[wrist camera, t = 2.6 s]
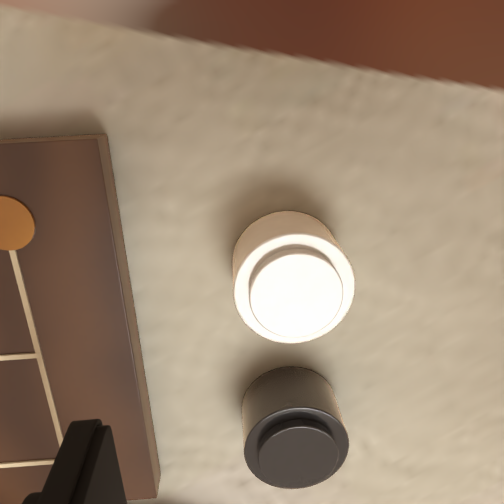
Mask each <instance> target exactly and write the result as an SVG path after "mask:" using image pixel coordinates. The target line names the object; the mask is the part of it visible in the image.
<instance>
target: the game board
mask: <svg viewBox="0 0 504 504" xmlns="http://www.w3.org/2000/svg"><path fill="white" fill-rule="evenodd" d="M90 419H100V420H101V421H102V424H103V426H104V425H110V426H111V429H112V434H113V438H114V443H115V448H116V453H117V458H118V462H119V467H120V472H121V477H122V482H123V487H124V491H125V496H126V500H138V499H151V498H157V494H158V488H159V482H160V476H161V473H160V467H159V460H158V454H157V448H156V442H155V435H154V429H153V423H152V416H151V410H150V404H149V397H148V391H147V385H146V378H145V372H144V366H143V359H142V353H141V347H140V341H139V334H138V328H137V322H136V315H135V309H134V303H133V296H132V290H131V284H130V277H129V271H128V265H127V258H126V252H125V246H124V239H123V233H122V227H121V221H120V214H119V208H118V202H117V195H116V189H115V183H114V176H113V170H112V164H111V157H110V151H109V145H108V138H107V135H106V134H94V135H75V136H56V137H38V138H19V139H0V504H22V503H23V501H24V499H25V498H26V497H27V496H28V495H29V494H30V493H34V492H42V489H43V487H44V485H45V482H46V480H47V477H48V475H49V472H50V470H51V468H52V465H53V463H54V460H55V458H56V456H57V453H58V451H59V448H60V446H61V444H62V441H63V439H64V436H65V434H66V432H67V429H68V427H69V425H70V423H71V422H72V421H79V420H90Z"/></svg>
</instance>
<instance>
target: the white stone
mask: <svg viewBox="0 0 504 504" xmlns="http://www.w3.org/2000/svg"><path fill="white" fill-rule="evenodd" d="M232 275H233V297H234V303H235V306H236V309H237V311H238V314H239V316H240V317H241V319H242V320H243V322H244V323H245V324H246V325H247V326H248V327H249V328H250V329H251V330H252V331H254V332H255V333H257V334H258V335H260V336H262V337H264V338H266V339H268V340H271V341H274V342H279V343H287V344H295V343H303V342H307V341H311V340H314V339H317V338H319V337H321V336H323V335H325V334H326V333H328V332H330V331H331V330H332V329H333V328H335V327H336V326H337V325H338V324H339V323H340V322H341V321H342V320H343V318H344V317H345V316H346V314H347V312H348V311H349V309H350V307H351V304H352V302H353V298H354V294H355V275H354V271H353V268H352V265H351V263H350V261H349V259H348V258H347V256H346V255H345V253H344V252H343V250H342V249H341V247H340V246H339V244H338V243H337V241H336V240H335V238H334V237H333V235H332V234H331V232H330V231H329V229H328V228H327V227H326V226H325V225H324V224H323V223H321V222H320V221H319V220H317V219H316V218H314V217H312V216H310V215H307V214H305V213H301V212H295V211H281V212H275V213H271V214H268V215H266V216H263V217H261V218H260V219H258V220H256V221H255V222H253V223H252V224H251V225H250V226H249V227H248V228H246V230H245V231H244V232H243V233H242V234H241V236H240V238H239V239H238V241H237V243H236V246H235V248H234V252H233V258H232Z"/></svg>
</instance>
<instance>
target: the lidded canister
mask: <svg viewBox="0 0 504 504" xmlns="http://www.w3.org/2000/svg"><path fill="white" fill-rule="evenodd" d="M242 422H243V444H244V457H245V460H246V463H247V465H248V467H249V469H250V470H251V472H252V473H253V474H254V475H255V476H256V477H257V478H259V479H260V480H261V481H263V482H265V483H267V484H269V485H272V486H275V487H279V488H285V489H299V488H305V487H310V486H313V485H316V484H318V483H321V482H323V481H324V480H326V479H328V478H329V477H331V476H332V475H333V474H334V473H335V472H337V471H338V469H339V468H340V467H341V466H342V464H343V463H344V461H345V459H346V457H347V453H348V449H349V438H348V434H347V431H346V428H345V425H344V422H343V419H342V416H341V413H340V410H339V407H338V404H337V402H336V399H335V396H334V393H333V390H332V388H331V386H330V385H329V383H328V382H327V381H326V380H325V379H324V378H323V377H322V376H320V375H319V374H317V373H315V372H313V371H311V370H308V369H305V368H301V367H283V368H278V369H274V370H272V371H269V372H267V373H265V374H263V375H262V376H260V377H259V378H257V379H256V380H255V381H254V382H253V383H252V384H251V385H250V387H249V388H248V389H247V391H246V393H245V395H244V398H243V402H242Z"/></svg>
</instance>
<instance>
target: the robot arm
mask: <svg viewBox="0 0 504 504" xmlns="http://www.w3.org/2000/svg"><path fill="white" fill-rule="evenodd" d="M22 504H127V501H126V496H125V491H124V487H123V482H122V477H121V472H120V467H119V462H118V458H117V453H116V448H115V443H114V438H113V434H112V429H111V426H110V425H104V426H103V424H102V421H101V420H100V419H90V420H79V421H72V422H71V423H70V425H69V427H68V429H67V432H66V434H65V436H64V439H63V441H62V444H61V446H60V448H59V451H58V453H57V456H56V458H55V460H54V463H53V465H52V468H51V470H50V472H49V475H48V477H47V480H46V482H45V485H44V487H43V489H42V492H34V493H30V494H29V495H28V496H27V497H26V498H25V499H24V501H23V503H22Z"/></svg>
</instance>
